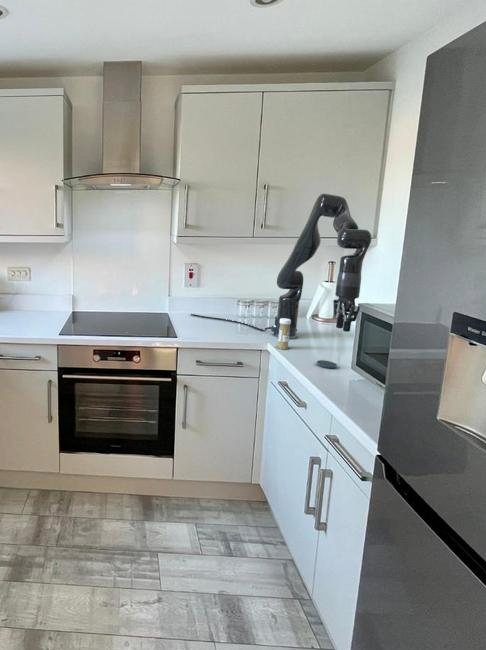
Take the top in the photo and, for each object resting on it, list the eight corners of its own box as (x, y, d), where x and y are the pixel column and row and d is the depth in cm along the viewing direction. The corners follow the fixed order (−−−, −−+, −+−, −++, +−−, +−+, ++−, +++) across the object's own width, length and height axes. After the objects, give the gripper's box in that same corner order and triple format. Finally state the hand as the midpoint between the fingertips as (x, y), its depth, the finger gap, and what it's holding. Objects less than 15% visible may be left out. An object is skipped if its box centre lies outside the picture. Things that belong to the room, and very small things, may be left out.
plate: (313, 365, 167) (313, 362, 167) (321, 361, 171) (321, 359, 171) (331, 370, 162) (331, 367, 161) (339, 366, 166) (339, 364, 166)
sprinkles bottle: (287, 350, 186) (290, 320, 184) (276, 348, 189) (279, 319, 187) (288, 347, 190) (291, 318, 188) (278, 345, 193) (281, 317, 190)
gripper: (328, 281, 160) (323, 324, 163) (348, 287, 146) (342, 334, 148) (348, 281, 159) (342, 325, 162) (370, 287, 145) (364, 335, 148)
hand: (342, 329), depth 155 cm, fingers open, 4 cm apart
